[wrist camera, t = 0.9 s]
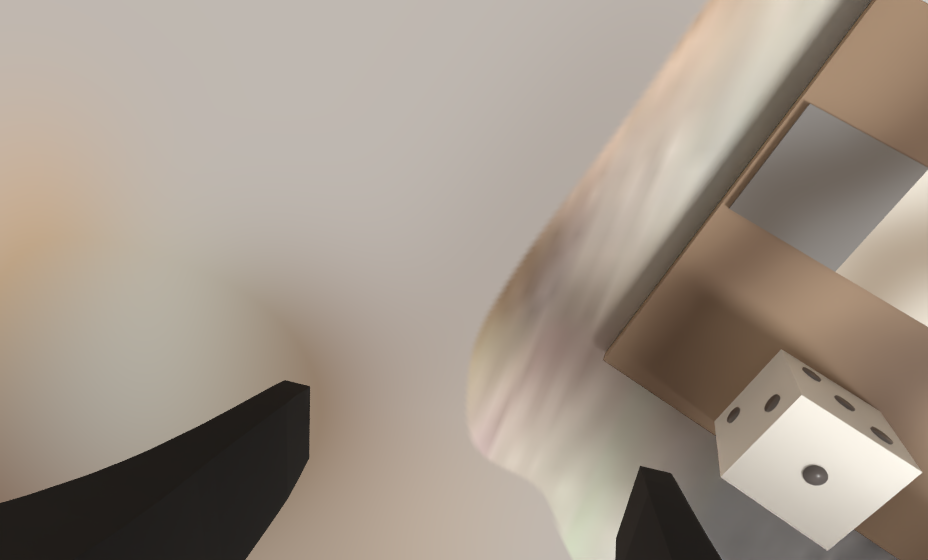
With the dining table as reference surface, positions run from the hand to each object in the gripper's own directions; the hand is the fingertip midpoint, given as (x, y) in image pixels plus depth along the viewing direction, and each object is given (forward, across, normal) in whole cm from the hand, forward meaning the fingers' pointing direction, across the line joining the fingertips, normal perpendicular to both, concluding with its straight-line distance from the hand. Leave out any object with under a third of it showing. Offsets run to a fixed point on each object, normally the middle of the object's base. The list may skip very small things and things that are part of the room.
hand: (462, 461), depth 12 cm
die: (+11, -11, +4) cm, 16 cm away
